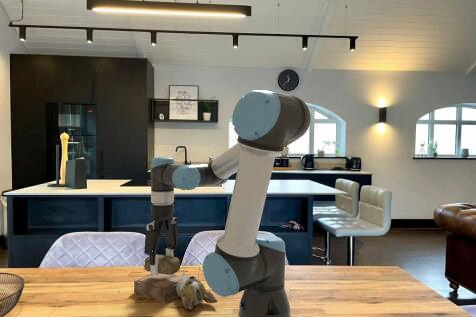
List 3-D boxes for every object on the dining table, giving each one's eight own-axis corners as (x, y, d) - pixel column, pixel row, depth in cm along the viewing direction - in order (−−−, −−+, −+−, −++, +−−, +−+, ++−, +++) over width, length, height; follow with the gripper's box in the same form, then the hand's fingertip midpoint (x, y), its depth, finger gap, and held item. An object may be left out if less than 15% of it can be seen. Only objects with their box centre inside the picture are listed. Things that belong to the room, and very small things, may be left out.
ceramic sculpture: (197, 265, 121) (220, 282, 109) (197, 289, 122) (219, 309, 110) (168, 271, 116) (188, 290, 103) (167, 297, 116) (187, 319, 104)
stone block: (172, 276, 116) (172, 261, 116) (142, 272, 120) (142, 257, 120) (181, 270, 122) (181, 256, 121) (152, 266, 125) (152, 252, 125)
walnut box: (189, 290, 122) (189, 278, 122) (164, 303, 112) (164, 290, 112) (159, 281, 130) (159, 269, 129) (134, 292, 120) (134, 280, 119)
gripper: (173, 198, 130) (173, 260, 131) (132, 206, 113) (131, 277, 114) (189, 200, 126) (189, 264, 127) (148, 209, 109) (148, 282, 110)
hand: (162, 270), depth 121 cm, fingers closed on stone block, 6 cm apart
